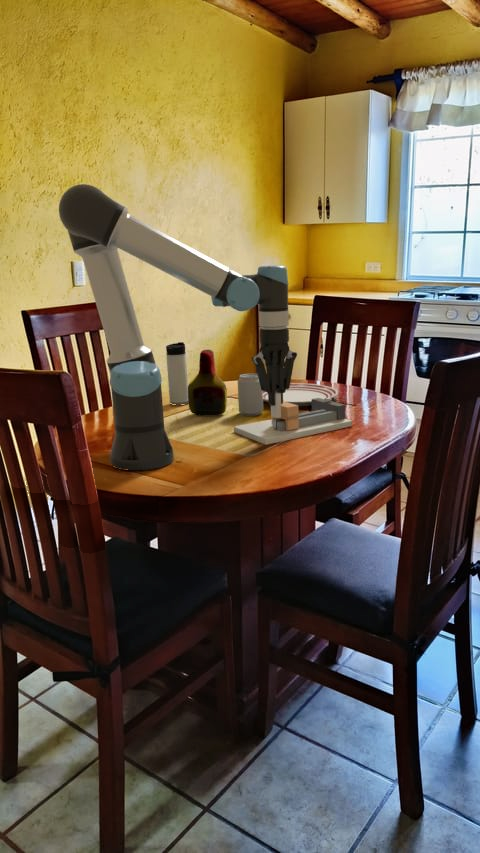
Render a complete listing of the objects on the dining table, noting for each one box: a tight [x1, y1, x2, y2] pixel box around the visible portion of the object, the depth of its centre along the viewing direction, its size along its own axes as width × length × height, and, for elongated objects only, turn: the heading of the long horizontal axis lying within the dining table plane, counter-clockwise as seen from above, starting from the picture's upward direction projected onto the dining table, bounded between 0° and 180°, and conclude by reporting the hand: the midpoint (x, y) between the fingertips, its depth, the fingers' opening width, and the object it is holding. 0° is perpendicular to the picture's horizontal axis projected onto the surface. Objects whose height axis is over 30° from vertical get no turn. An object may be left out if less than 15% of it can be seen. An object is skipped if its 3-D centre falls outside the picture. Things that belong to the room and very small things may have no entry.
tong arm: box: [273, 409, 327, 429], centre depth 183 cm, size 17×2×2 cm, turn 121°
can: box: [237, 373, 264, 417], centre depth 202 cm, size 8×8×12 cm
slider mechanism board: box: [233, 398, 353, 445], centre depth 183 cm, size 28×16×6 cm, turn 121°
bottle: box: [188, 349, 228, 417], centre depth 201 cm, size 12×6×20 cm, turn 77°
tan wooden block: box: [270, 401, 300, 430], centre depth 179 cm, size 4×8×6 cm, turn 31°
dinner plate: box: [263, 382, 339, 407], centre depth 219 cm, size 27×27×3 cm
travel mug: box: [165, 341, 189, 405], centre depth 218 cm, size 6×7×20 cm
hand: (276, 416), depth 177 cm, fingers closed
